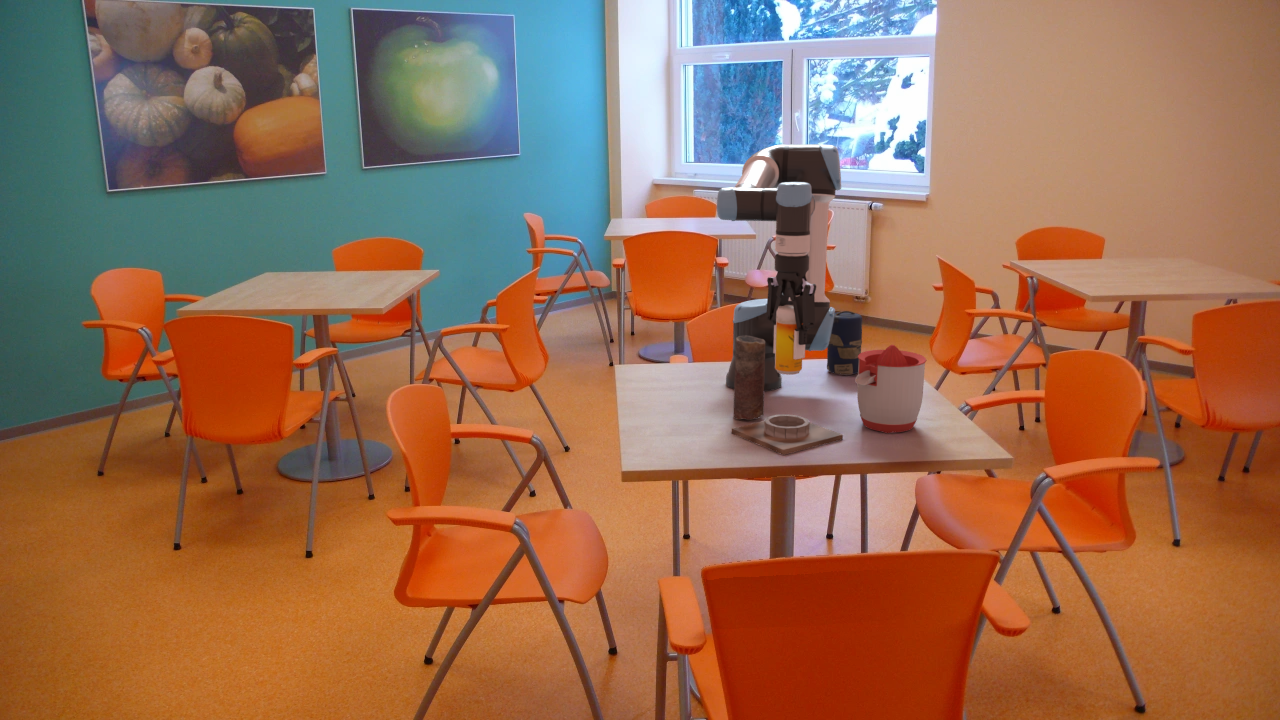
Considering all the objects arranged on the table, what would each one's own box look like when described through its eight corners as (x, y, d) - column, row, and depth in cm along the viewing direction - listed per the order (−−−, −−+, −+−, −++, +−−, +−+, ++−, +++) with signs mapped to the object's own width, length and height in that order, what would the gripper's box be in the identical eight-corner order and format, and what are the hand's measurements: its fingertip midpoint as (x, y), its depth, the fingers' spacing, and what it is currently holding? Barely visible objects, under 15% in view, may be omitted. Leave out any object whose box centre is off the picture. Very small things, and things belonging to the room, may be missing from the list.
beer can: (801, 375, 221) (803, 310, 217) (773, 374, 222) (775, 309, 218) (802, 369, 227) (804, 304, 223) (775, 368, 228) (777, 304, 224)
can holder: (731, 433, 231) (731, 418, 230) (789, 419, 241) (789, 405, 240) (783, 455, 216) (783, 439, 216) (842, 439, 226) (843, 424, 225)
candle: (747, 411, 248) (748, 333, 243) (770, 417, 243) (772, 338, 238) (727, 417, 242) (728, 338, 237) (750, 424, 237) (752, 343, 232)
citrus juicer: (835, 423, 237) (838, 342, 232) (889, 412, 246) (893, 334, 241) (880, 442, 224) (885, 357, 219) (936, 429, 232) (942, 347, 227)
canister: (863, 376, 278) (866, 314, 273) (829, 377, 278) (832, 314, 273) (856, 368, 287) (859, 307, 282) (823, 368, 287) (826, 307, 283)
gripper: (751, 250, 224) (749, 349, 229) (809, 259, 208) (805, 366, 214) (776, 247, 228) (773, 345, 233) (835, 257, 212) (830, 361, 218)
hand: (788, 355), depth 223 cm, fingers closed on beer can, 6 cm apart
